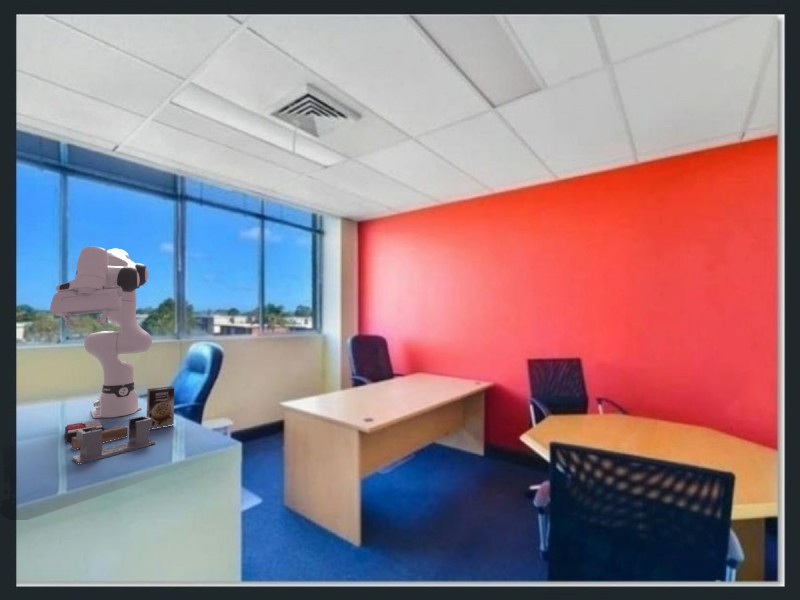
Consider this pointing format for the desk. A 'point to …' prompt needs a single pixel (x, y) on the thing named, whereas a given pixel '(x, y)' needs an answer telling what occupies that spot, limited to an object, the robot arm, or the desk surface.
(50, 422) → the desk surface
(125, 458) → the desk surface
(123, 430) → the rail
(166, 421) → the coffee box
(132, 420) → the bracket
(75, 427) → the calculator
